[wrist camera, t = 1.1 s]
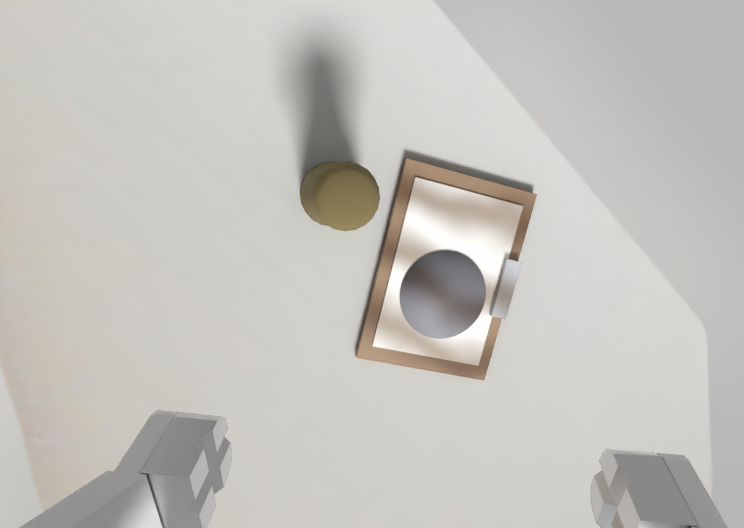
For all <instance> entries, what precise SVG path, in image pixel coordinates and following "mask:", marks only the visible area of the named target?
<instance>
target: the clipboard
mask: <svg viewBox="0 0 744 528" xmlns="http://www.w3.org/2000/svg"><path fill="white" fill-rule="evenodd" d="M536 196H537V194H534V193H530V192H526V191H523V190H519V189H516V188H512V187H508V186H505V185H501V184H498V183H494V182H490V181H487V180H483V179H480V178H476V177H472V176H469V175H465V174H462V173H458V172H454V171H451V170H447V169H444V168H440V167H436V166H433V165H429V164H426V163H422V162H419V161H415V160H411V159H408V158H406V159H405V160H404V164H403V168H402V172H401V176H400V180H399V184H398V188H397V192H396V196H395V200H394V204H393V208H392V212H391V216H390V220H389V224H388V228H387V232H386V236H385V240H384V244H383V248H382V252H381V256H380V260H379V264H378V268H377V272H376V276H375V280H374V284H373V288H372V292H371V296H370V300H369V304H368V308H367V311H366V315H365V319H364V323H363V327H362V331H361V335H360V339H359V343H358V347H357V351H356V357H357V358H361V359H366V360H372V361H377V362H383V363H389V364H394V365H400V366H406V367H411V368H417V369H423V370H428V371H434V372H440V373H445V374H451V375H456V376H462V377H468V378H473V379H479V380H484V379H485V376H486V372H487V369H488V365H489V362H490V358H491V355H492V351H493V348H494V344H495V341H496V337H497V333H498V330H499V326H500V323H501V319H506V316H507V313H508V309H509V306H510V302H511V298H512V295H513V291H514V288H515V284H516V281H517V277H518V274H519V270H520V267H521V263H522V262H518V259H519V256H520V252H521V249H522V245H523V242H524V238H525V234H526V231H527V227H528V224H529V220H530V217H531V213H532V210H533V206H534V203H535V199H536Z"/></svg>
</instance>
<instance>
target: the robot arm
mask: <svg viewBox="0 0 744 528" xmlns="http://www.w3.org/2000/svg"><path fill="white" fill-rule="evenodd" d="M227 429H228V427H227V423H226V418H224V417H220V416H211V415H202V414H193V413H184V412H173V411H163V410H157V411H156V412H154V413H153V414H152V415H151V416H150V417H149V419H148V420H147V422H146V423H145V425H144V426H143V428H142V429H141V431H140V433H139V434H138V436H137V437H136V439H135V440H134V442H133V443H132V445H131V446H130V448H129V449H128V451H127V452H126V454H125V455H124V457H123V458H122V460H121V461H120V463H119V465H118V466H117V468H116V469H115V471H106V472H105V473H103V474H102V475H100V476H99V477H97V478H95V479H94V480H92V481H91V482H89V483H88V484H86V485H85V486H83V487H82V488H80V489H78V490H77V491H75V492H74V493H72V494H71V495H69V496H68V497H66V498H65V499H63V500H61V501H60V502H58V503H57V504H55V505H54V506H52V507H51V508H49V509H48V510H46V511H44V512H43V513H42V514H40V515H38V516H37V517H35V518H34V519H32V520H31V521H29V522H27V523H26V524H24V525H23V526H21V527H20V528H207V526H208V524H209V522H210V519H211V517H212V514H213V512H214V509H215V507H216V502H215V497H214V494H215V493H217V492H218V491H219V490H220V489H222V488H223V487H224V485H225V482H226V480H227V477H228V475H229V470H230V465H231V458H232V450H231V444H230V442H229V441H228V440H227V439H226V438H225V437H224V436H225V434H226V432H227ZM599 462H600V465H601V467H602V471H600V472H599V473H597V474H596V475H594V478H593V481H592V484H591V505H592V511H593V514H594V517H595V521H596V523H597V524H598V525H599V526H600V527H601V528H728V527H727V526H726V524H725V522H724V521H723V519H722V517H721V516H720V514H719V512H718V510H717V509H716V507H715V505H714V503H713V502H712V500H711V498H710V496H709V495H708V493H707V491H706V489H705V488H704V486H703V484H702V482H701V481H700V479H699V477H698V475H697V474H696V472H695V470H694V469H693V467H692V465H691V463H690V462H689V460H688V459H687V458H686V457H685V456H683V455H674V454H662V453H653V452H639V451H626V450H612V449H606V450H605V451H604V452H603V453H602V455H601V458H600V460H599Z"/></svg>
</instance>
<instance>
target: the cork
mask: <svg viewBox="0 0 744 528" xmlns="http://www.w3.org/2000/svg"><path fill="white" fill-rule="evenodd" d="M300 197H301V203H302V206H303V208H304V210H305V212H306V213H307V214H308V215H309V216H310V217H311V218H312V220H314V221H316V222H318V223H320V224H321V225H327V226H330V227H332V228H333V229H337V230H342V231H349V230H356V229H358V228H360V227H362V226H364V225H366V224H367V223H368V222H369V221H370V220H371V219H372V218H373V216H374V214H375V213H376V211H377V209H378V205H379V200H380V195H379V187H378V185H377V183H376V180H375V178H374V177H373V176H372V174H371V173H370V172H369V171H368V170H367V169H365V168H364V167H362V166H360V165H359V164H355V163H351V162H340V163H336V162H328V163H322V164H320V165H318V166H316V167H314V168H313V169H312V170H311V171H309V172H308V173H307V174H306V176H305V178H304V180H303V182H302V185H301V190H300Z"/></svg>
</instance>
